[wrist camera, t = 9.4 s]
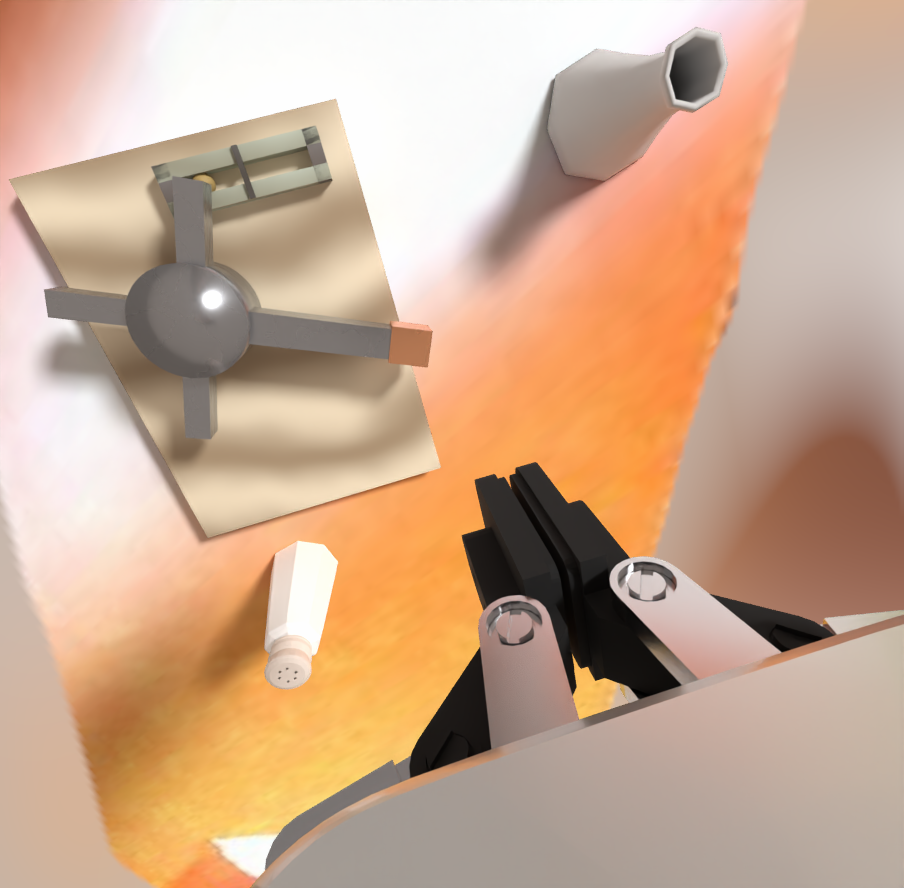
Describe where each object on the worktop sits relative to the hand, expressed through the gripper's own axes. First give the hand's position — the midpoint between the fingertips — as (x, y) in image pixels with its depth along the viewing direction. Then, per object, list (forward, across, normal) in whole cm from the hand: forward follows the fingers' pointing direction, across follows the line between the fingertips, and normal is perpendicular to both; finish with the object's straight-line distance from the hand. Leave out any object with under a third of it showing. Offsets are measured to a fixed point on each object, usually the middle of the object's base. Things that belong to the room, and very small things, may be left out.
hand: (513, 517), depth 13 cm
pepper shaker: (+24, +14, +16) cm, 32 cm away
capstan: (+22, +9, -4) cm, 24 cm away
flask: (+25, -15, -10) cm, 31 cm away
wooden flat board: (+24, +10, -2) cm, 26 cm away
